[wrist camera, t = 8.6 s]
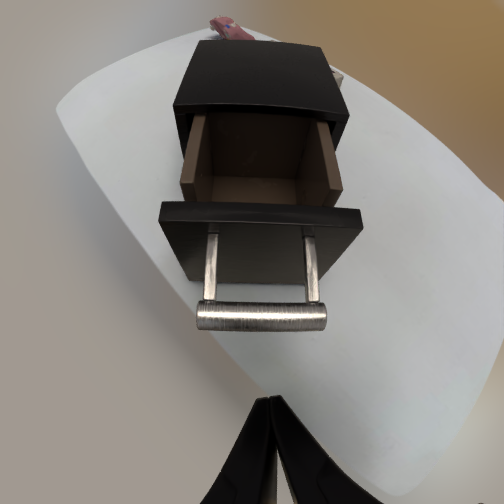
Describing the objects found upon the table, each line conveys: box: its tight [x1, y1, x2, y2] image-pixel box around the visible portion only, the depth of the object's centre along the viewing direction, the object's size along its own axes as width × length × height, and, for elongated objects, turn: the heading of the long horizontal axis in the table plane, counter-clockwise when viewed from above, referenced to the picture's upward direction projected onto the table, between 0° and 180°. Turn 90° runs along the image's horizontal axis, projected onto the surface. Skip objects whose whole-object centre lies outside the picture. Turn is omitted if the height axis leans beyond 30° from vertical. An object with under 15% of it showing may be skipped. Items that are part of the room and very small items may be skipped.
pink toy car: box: [210, 16, 255, 40], centre depth 39 cm, size 10×5×7 cm, turn 30°
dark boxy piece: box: [173, 40, 350, 159], centre depth 23 cm, size 12×12×12 cm
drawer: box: [158, 113, 363, 332], centre depth 19 cm, size 15×10×10 cm
